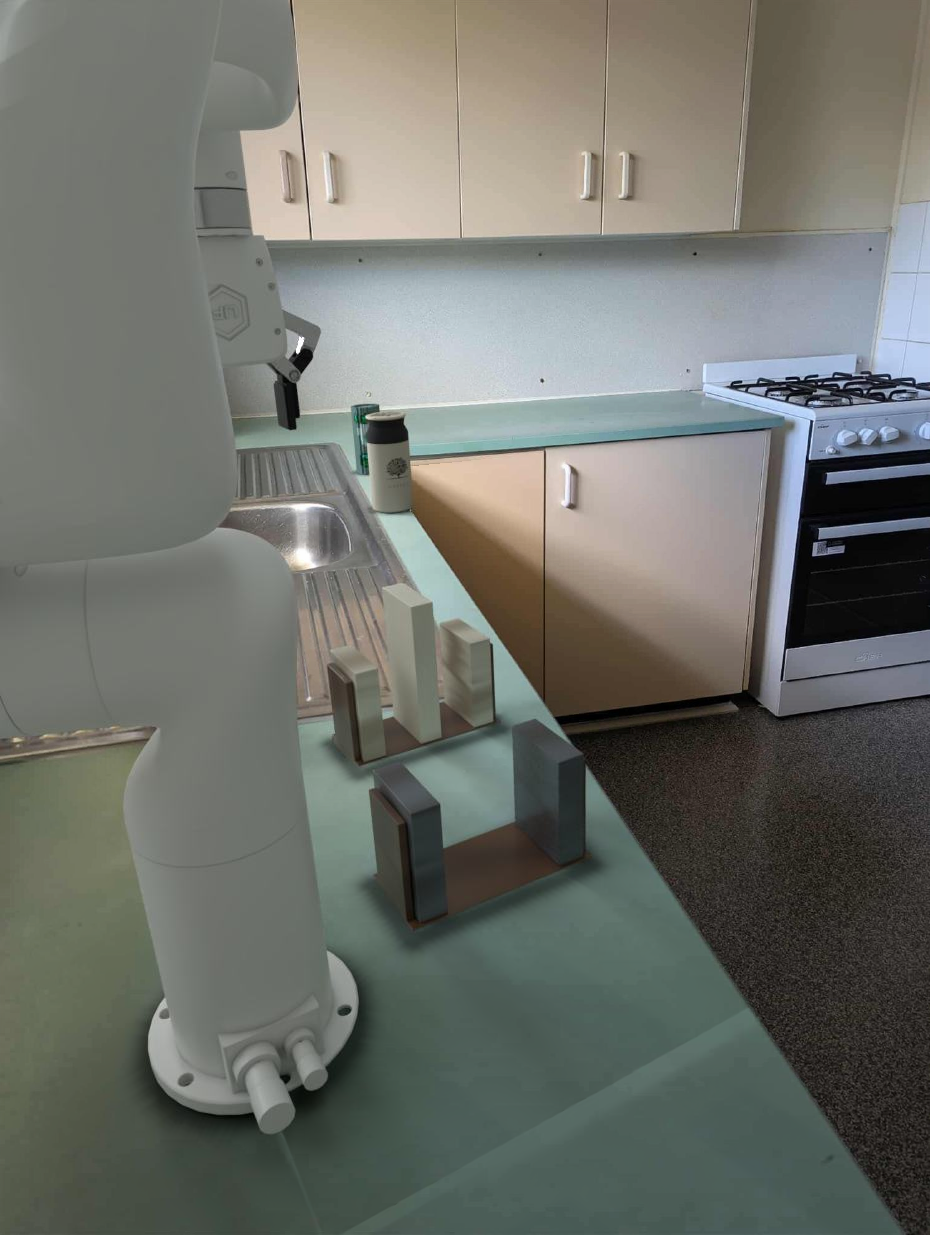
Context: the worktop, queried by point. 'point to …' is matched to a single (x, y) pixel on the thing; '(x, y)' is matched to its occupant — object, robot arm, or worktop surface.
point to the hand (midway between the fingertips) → (234, 435)
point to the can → (361, 434)
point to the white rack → (380, 738)
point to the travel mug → (389, 462)
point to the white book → (412, 661)
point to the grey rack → (494, 860)
